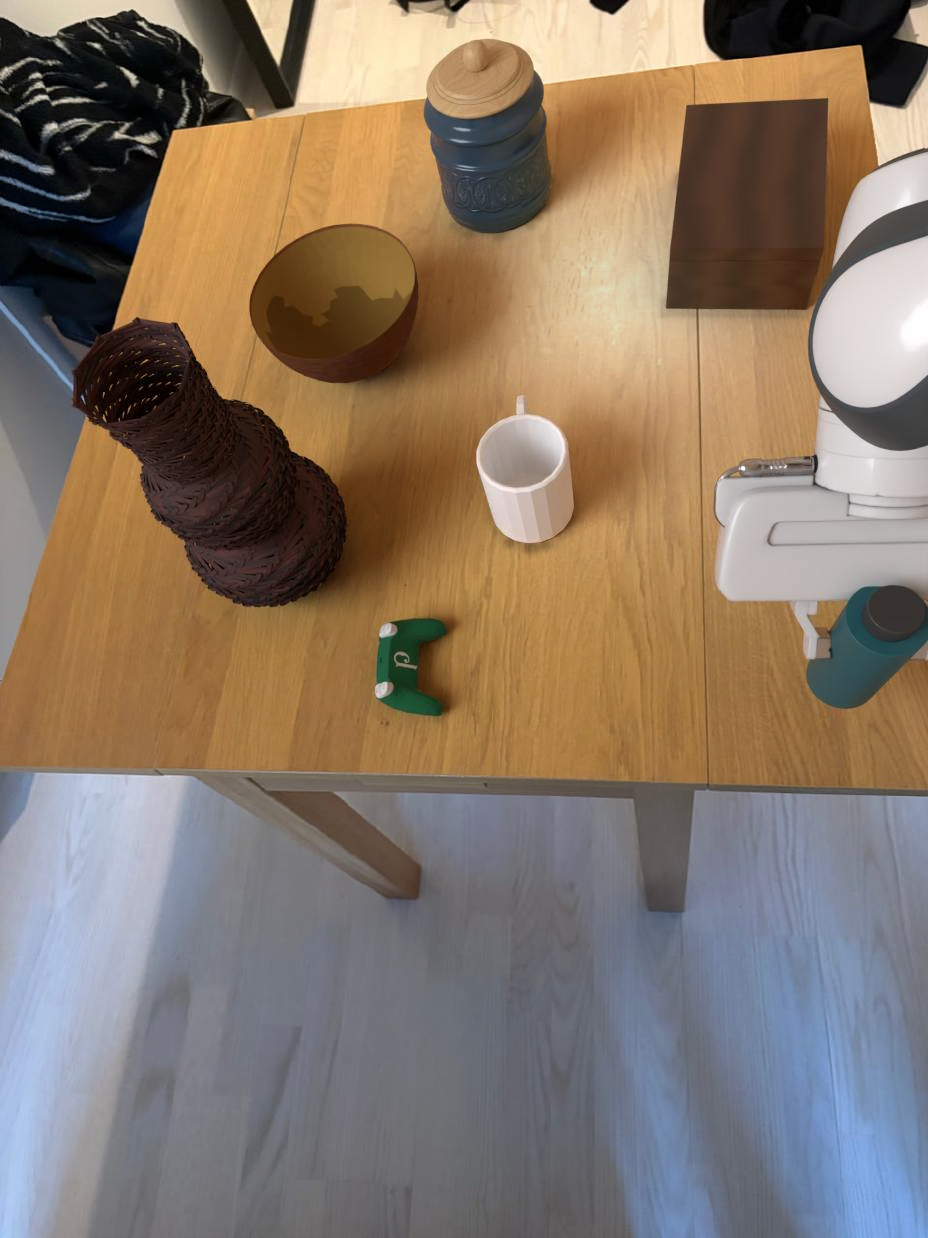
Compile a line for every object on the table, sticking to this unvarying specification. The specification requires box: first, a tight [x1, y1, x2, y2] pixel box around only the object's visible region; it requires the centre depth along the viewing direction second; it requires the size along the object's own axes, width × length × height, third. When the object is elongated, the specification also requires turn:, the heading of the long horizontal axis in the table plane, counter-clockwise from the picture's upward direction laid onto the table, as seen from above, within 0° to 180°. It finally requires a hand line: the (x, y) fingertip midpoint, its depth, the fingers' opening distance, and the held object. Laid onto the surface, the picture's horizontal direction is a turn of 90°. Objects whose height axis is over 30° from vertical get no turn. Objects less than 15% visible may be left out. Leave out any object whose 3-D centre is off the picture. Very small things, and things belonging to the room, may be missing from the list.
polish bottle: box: [805, 585, 928, 710], centre depth 54 cm, size 5×5×14 cm
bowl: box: [248, 223, 420, 384], centre depth 85 cm, size 18×18×10 cm
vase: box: [70, 316, 348, 608], centre depth 67 cm, size 15×15×30 cm
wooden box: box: [665, 97, 829, 311], centre depth 82 cm, size 14×20×8 cm
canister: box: [423, 38, 552, 234], centre depth 87 cm, size 13×13×18 cm
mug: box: [475, 394, 575, 544], centre depth 74 cm, size 8×12×10 cm
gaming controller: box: [374, 617, 448, 717], centre depth 72 cm, size 9×4×6 cm
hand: (866, 656), depth 54 cm, fingers closed on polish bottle, 5 cm apart
